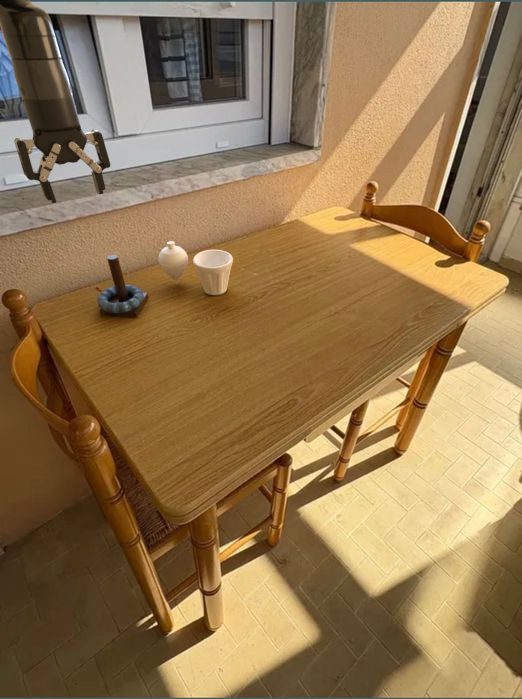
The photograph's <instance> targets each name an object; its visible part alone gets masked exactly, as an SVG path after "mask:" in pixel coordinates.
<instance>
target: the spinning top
mask: <svg viewBox="0 0 522 699" xmlns="http://www.w3.org/2000/svg"><path fill="white" fill-rule="evenodd" d="M157 261H158V264H159V266H160V268H161V270H162V271H163V272H164V273H165V274H166V275H167V276H168V277H169V278H171V279H172V280H173V281H175V283H176V285H178V281H179V280H180V279H181V278H182V276H183V274H184V273H185V272H186V270H187V267H188V265H189V264H188V263H189V257H188V253H187V252H186V251H185V249H183V248H182V247H181V246H179V245H176V243H175V241H173V240H169V241H167V242H166V246H165V247H162V249H161V251H160V252H159V253H158V257H157Z"/></svg>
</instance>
